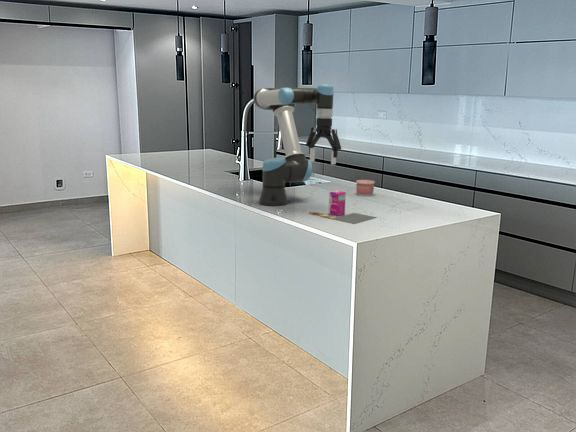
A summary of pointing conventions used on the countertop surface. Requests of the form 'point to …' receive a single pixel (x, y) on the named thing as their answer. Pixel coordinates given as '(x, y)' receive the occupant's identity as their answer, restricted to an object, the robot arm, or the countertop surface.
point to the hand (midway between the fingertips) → (322, 162)
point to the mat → (354, 218)
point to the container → (365, 187)
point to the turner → (322, 215)
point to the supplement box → (337, 203)
